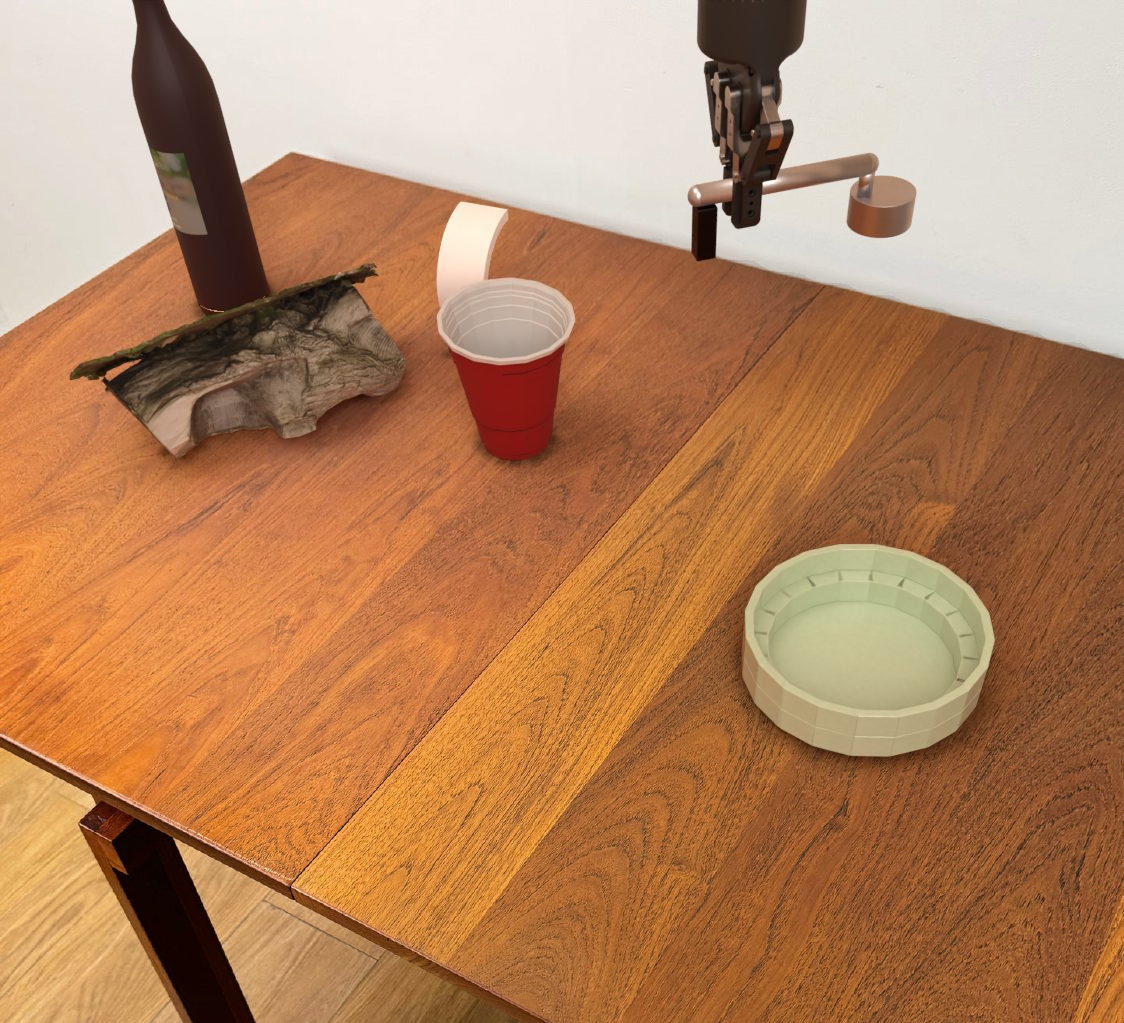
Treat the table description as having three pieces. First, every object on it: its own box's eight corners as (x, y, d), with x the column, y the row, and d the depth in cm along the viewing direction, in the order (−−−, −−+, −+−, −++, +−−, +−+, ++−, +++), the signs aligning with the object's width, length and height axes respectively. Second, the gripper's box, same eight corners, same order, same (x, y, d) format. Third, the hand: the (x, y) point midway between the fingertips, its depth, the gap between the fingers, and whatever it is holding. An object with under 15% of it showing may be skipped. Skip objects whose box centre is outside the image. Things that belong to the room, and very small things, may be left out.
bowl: (918, 571, 90) (929, 524, 87) (1022, 730, 80) (1038, 684, 76) (710, 616, 88) (713, 570, 85) (789, 785, 78) (796, 741, 75)
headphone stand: (519, 334, 113) (508, 209, 104) (490, 369, 110) (476, 243, 101) (476, 325, 115) (461, 201, 105) (446, 359, 111) (427, 234, 102)
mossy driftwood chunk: (133, 516, 107) (115, 484, 92) (70, 379, 105) (42, 324, 91) (422, 408, 113) (448, 361, 99) (367, 277, 112) (385, 210, 97)
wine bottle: (202, 287, 122) (97, -53, 99) (272, 279, 122) (183, -62, 99) (196, 325, 118) (85, -22, 94) (269, 317, 118) (175, -32, 95)
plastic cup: (510, 499, 98) (495, 370, 89) (429, 442, 104) (407, 314, 94) (608, 440, 102) (604, 311, 93) (526, 388, 108) (514, 261, 98)
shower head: (696, 274, 96) (698, 203, 91) (677, 243, 99) (677, 172, 94) (922, 231, 98) (934, 159, 93) (895, 201, 101) (906, 130, 96)
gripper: (844, -2, 78) (817, 252, 92) (771, -69, 87) (756, 172, 100) (734, 17, 78) (723, 270, 91) (671, -53, 86) (669, 188, 100)
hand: (740, 218), depth 96 cm, fingers closed on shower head
